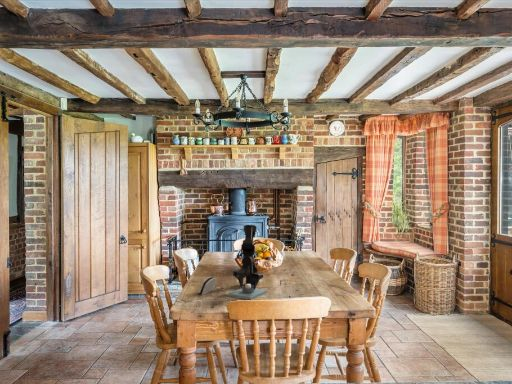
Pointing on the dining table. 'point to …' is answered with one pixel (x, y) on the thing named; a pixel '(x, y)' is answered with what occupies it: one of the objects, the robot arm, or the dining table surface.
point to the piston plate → (247, 296)
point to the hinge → (207, 285)
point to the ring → (247, 290)
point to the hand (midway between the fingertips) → (248, 288)
